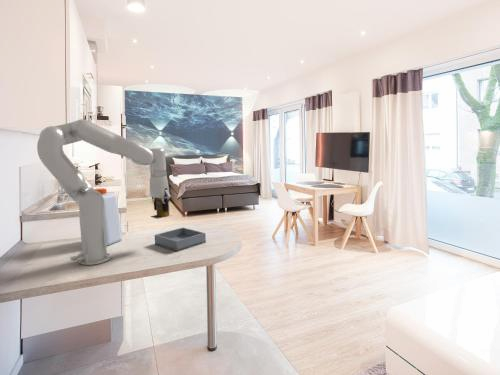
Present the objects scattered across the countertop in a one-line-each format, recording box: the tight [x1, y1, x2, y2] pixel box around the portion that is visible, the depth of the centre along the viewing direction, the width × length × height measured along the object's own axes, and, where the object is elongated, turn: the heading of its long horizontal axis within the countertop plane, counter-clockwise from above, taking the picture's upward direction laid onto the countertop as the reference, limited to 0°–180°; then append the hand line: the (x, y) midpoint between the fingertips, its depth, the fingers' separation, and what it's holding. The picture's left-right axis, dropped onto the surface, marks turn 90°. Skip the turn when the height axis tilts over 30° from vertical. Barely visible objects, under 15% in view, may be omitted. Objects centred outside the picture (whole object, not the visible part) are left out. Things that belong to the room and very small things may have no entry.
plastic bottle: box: [94, 187, 123, 247], centre depth 163 cm, size 15×15×28 cm
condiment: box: [150, 196, 173, 220], centre depth 155 cm, size 7×8×12 cm
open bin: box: [154, 227, 207, 253], centre depth 161 cm, size 18×18×5 cm
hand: (161, 210), depth 155 cm, fingers closed on condiment, 6 cm apart
